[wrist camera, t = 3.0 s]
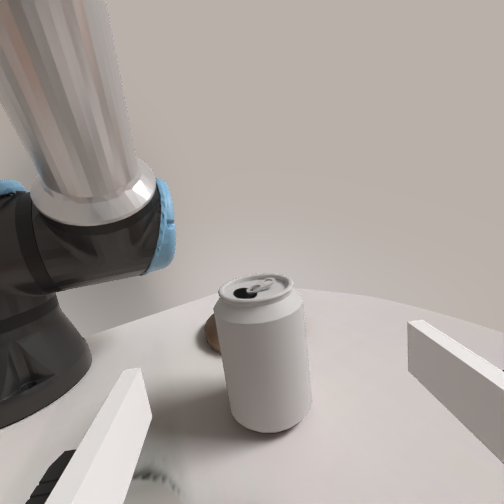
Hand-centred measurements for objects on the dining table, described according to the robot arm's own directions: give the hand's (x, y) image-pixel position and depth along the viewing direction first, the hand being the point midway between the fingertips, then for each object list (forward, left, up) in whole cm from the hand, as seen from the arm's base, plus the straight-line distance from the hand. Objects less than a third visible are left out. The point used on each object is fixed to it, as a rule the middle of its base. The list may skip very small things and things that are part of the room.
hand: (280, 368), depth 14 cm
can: (0, +10, -11) cm, 15 cm away
